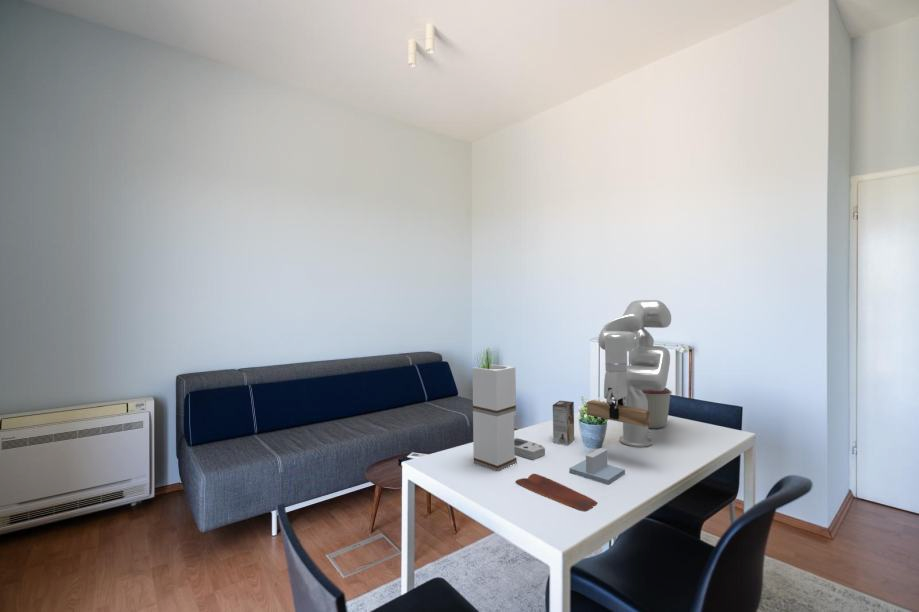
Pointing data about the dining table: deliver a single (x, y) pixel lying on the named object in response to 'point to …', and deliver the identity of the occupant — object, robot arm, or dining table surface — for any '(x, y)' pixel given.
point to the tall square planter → (494, 416)
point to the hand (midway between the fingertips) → (617, 416)
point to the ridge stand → (597, 468)
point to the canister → (658, 407)
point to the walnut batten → (625, 413)
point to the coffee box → (563, 422)
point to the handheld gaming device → (528, 449)
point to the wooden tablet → (557, 492)
